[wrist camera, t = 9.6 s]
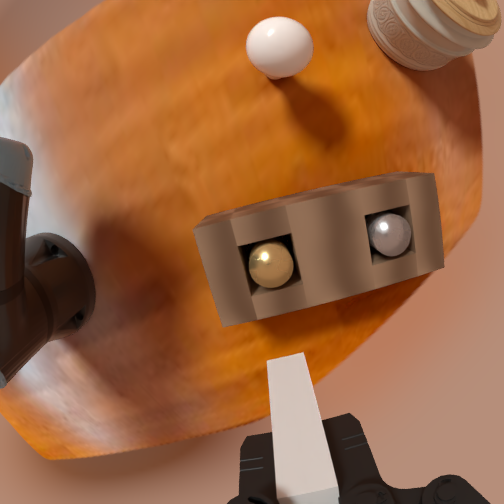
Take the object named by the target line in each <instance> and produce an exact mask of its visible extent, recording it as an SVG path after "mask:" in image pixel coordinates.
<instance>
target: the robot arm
mask: <svg viewBox="0 0 504 504" xmlns="http://www.w3.org/2000/svg"><path fill="white" fill-rule="evenodd" d="M32 167H33V155H32V152H31V150H30V149H29V147H28V146H27V145H25V144H24V143H21V142H18V141H14V140H11V139H7V138H3V137H0V389H1V388H4V387H5V386H6V385H7V383H8V382H9V381H10V380H11V379H12V378H13V376H14V375H15V374H16V373H17V372H18V371H19V370H20V369H21V368H22V367H23V366H24V365H25V364H26V363H27V362H28V361H29V360H30V359H31V358H32V357H33V356H34V355H35V354H36V353H37V352H38V351H39V350H40V349H41V348H42V347H43V346H44V345H45V344H46V343H47V342H50V341H53V340H57V339H60V338H63V337H67V336H70V335H72V334H74V333H75V332H77V331H78V330H79V329H80V328H81V327H82V326H83V325H84V324H85V323H86V322H87V321H88V320H89V318H90V316H91V314H92V312H93V309H94V304H95V287H94V281H93V278H92V274H91V272H90V269H89V267H88V265H87V263H86V261H85V259H84V258H83V256H82V255H81V253H80V252H79V251H78V250H77V249H76V248H75V246H74V245H72V244H71V243H70V242H69V241H68V240H66V239H65V238H63V237H61V236H59V235H56V234H53V233H39V234H36V235H34V236H31V237H28V238H26V226H27V216H28V207H29V199H30V197H31V195H32V192H31V190H30V187H31V175H32ZM267 369H268V382H269V395H270V408H271V421H272V432H270V433H264V434H258V435H252V436H247V437H246V439H245V441H244V442H243V444H242V446H241V449H240V479H239V495H238V496H237V497H235V498H233V499H231V500H230V501H229V502H228V503H227V504H490V503H489V502H488V501H487V500H486V499H485V498H484V497H483V496H482V495H481V494H480V493H479V492H478V491H476V490H475V489H474V488H473V487H472V486H471V485H470V484H469V483H468V482H467V481H466V480H465V479H463V478H461V477H460V476H457V475H444V476H440V477H438V478H436V479H434V480H432V481H431V482H430V483H429V484H428V485H427V486H426V487H421V488H412V489H398V488H393V487H391V486H389V485H387V484H386V483H385V482H384V481H383V480H382V478H381V476H380V474H379V471H378V468H377V466H376V463H375V460H374V458H373V455H372V452H371V450H370V448H369V445H368V443H367V439H366V437H365V435H364V432H363V429H362V427H361V424H360V422H359V420H357V419H356V418H355V417H354V416H353V415H351V414H350V413H347V414H344V415H340V416H337V417H333V418H329V419H326V420H321V416H320V413H319V409H318V405H317V401H316V397H315V394H314V390H313V386H312V382H311V379H310V375H309V371H308V367H307V364H306V360H305V356H304V353H298V354H294V355H290V356H286V357H282V358H277V359H273V360H268V361H267Z"/></svg>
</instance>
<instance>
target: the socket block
mask: <svg viewBox="0 0 504 504" xmlns="http://www.w3.org/2000/svg"><path fill="white" fill-rule="evenodd" d="M384 210H388V211H390V212H391V213H393V214H396V215H399V216H401V217H403V218H404V219H405V220H406V221H407V222H408V224H409V226H410V229H411V239H410V242H409V245H408V247H407V248H406V249H405V250H404V251H403V252H402V253H401V254H399V255H396V256H386V255H384V254H382V253H381V252H379V251H378V250H376V249H372V248H370V247H369V240H368V234H367V228H366V222H365V217H364V215H368V214H372V213H376V212H380V211H384ZM193 232H194V236H195V239H196V243H197V246H198V249H199V253H200V256H201V259H202V263H203V266H204V269H205V273H206V276H207V279H208V282H209V286H210V289H211V292H212V295H213V298H214V301H215V305H216V308H217V311H218V314H219V317H220V320H221V323H222V326H223V327H227V326H232V325H236V324H241V323H245V322H250V321H254V320H259V319H263V318H267V317H272V316H276V315H280V314H284V313H288V312H292V311H296V310H300V309H304V308H308V307H312V306H316V305H320V304H324V303H328V302H331V301H335V300H339V299H342V298H346V297H350V296H353V295H357V294H360V293H364V292H367V291H371V290H374V289H378V288H381V287H384V286H388V285H391V284H394V283H398V282H401V281H404V280H407V279H410V278H414V277H417V276H420V275H423V274H426V273H429V272H432V271H435V270H438V269H441V268H444V253H443V240H442V229H441V219H440V210H439V202H438V195H437V188H436V182H435V176H434V173H419V172H393V173H388V174H383V175H378V176H373V177H368V178H363V179H358V180H354V181H349V182H344V183H340V184H335V185H331V186H326V187H322V188H318V189H313V190H309V191H304V192H300V193H296V194H292V195H287V196H283V197H279V198H275V199H271V200H267V201H263V202H259V203H255V204H251V205H247V206H243V207H239V208H235V209H231V210H227V211H224V212H220V213H216V214H212V215H209V216H206V217H205V218H204V219H203V220H202V221H201V222H200V223H199V224H198V225H197V226H196V227H195V228H194V229H193ZM285 234H286V236H287V241H288V245H289V249H290V252H291V258H292V260H293V272H292V275H291V277H290V278H289V279H288V281H287V282H285V283H284V284H283V285H281V286H278V287H274V288H267V287H263V286H261V285H259V284H257V283H256V282H255V281H254V280H253V278H252V277H251V275H250V271H249V264H248V260H247V250H246V247H245V244H249V243H253V242H257V241H261V240H265V239H269V238H273V237H277V236H281V235H285Z"/></svg>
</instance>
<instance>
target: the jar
mask: <svg viewBox="0 0 504 504" xmlns="http://www.w3.org/2000/svg"><path fill="white" fill-rule="evenodd" d="M367 23H368V27H369V30H370V33H371V35H372V37H373V38H374V40H375V42H376V43H377V44H378V46H379V47H380V48H381V49H382V50H383V51H384V52H385V53H386V54H387V55H388V56H389V57H390V58H392V59H393V60H394V61H396V62H397V63H399V64H401V65H403V66H405V67H407V68H410V69H413V70H419V71H427V70H435V69H438V68H440V67H442V66H444V65H446V64H447V63H448V62H450V61H452V60H454V59H456V58H458V57H462V56H466V55H468V54H470V53H472V52H473V51H474V50H475V49H481V48H484V47H486V46H487V45H489V44H490V43H491V41H492V39H493V37H494V34H495V33H497V32H498V30H499V28H500V26H501V12H500V9H499V6H498V3H497V1H496V0H371V2H370V4H369V7H368V11H367Z"/></svg>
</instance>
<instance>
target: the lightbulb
mask: <svg viewBox="0 0 504 504" xmlns="http://www.w3.org/2000/svg"><path fill="white" fill-rule="evenodd" d="M313 50H314V46H313V41H312V38H311V35H310V34H309V32H308V31H307V29H306V28H305V27H304V26H303V25H302V24H300V23H299V22H297V21H295V20H293V19H290V18H286V17H271V18H268V19H265V20H263V21H261V22H259V23H258V24H257V25H255V26H254V27H253V29H252V30H251V31H250V33H249V35H248V37H247V41H246V51H247V55H248V58H249V60H250V62H251V63H252V64H253V66H254V67H255V68H256V69H258V70H259V71H260V72H262V73H264V74H265V75H266V76H267V77H268V78H270V79H280V78H282V77H289V76H293V75H295V74H297V73H299V72H301V71H302V70H303V69H304V68H305V67H306V66H307V65H308V64H309V62H310V61H311V58H312V56H313Z"/></svg>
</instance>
